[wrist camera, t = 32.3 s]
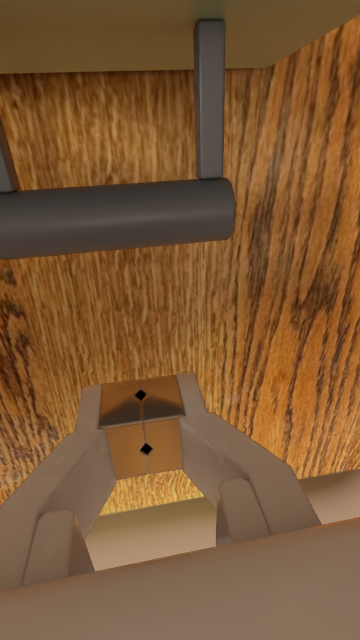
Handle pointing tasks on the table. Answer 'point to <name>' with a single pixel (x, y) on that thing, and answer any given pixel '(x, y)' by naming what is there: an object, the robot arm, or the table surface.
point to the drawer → (138, 55)
